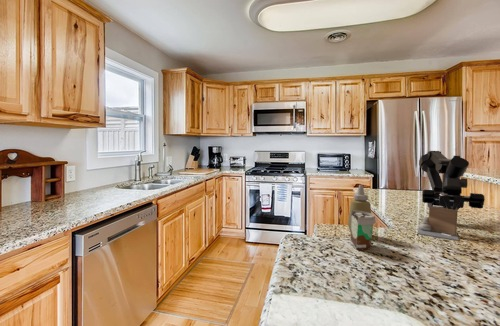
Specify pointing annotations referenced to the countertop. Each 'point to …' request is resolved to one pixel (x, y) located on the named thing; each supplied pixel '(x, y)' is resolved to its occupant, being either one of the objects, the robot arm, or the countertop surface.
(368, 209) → the squeeze bottle
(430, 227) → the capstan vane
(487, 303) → the countertop surface
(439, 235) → the slate base
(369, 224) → the food container
